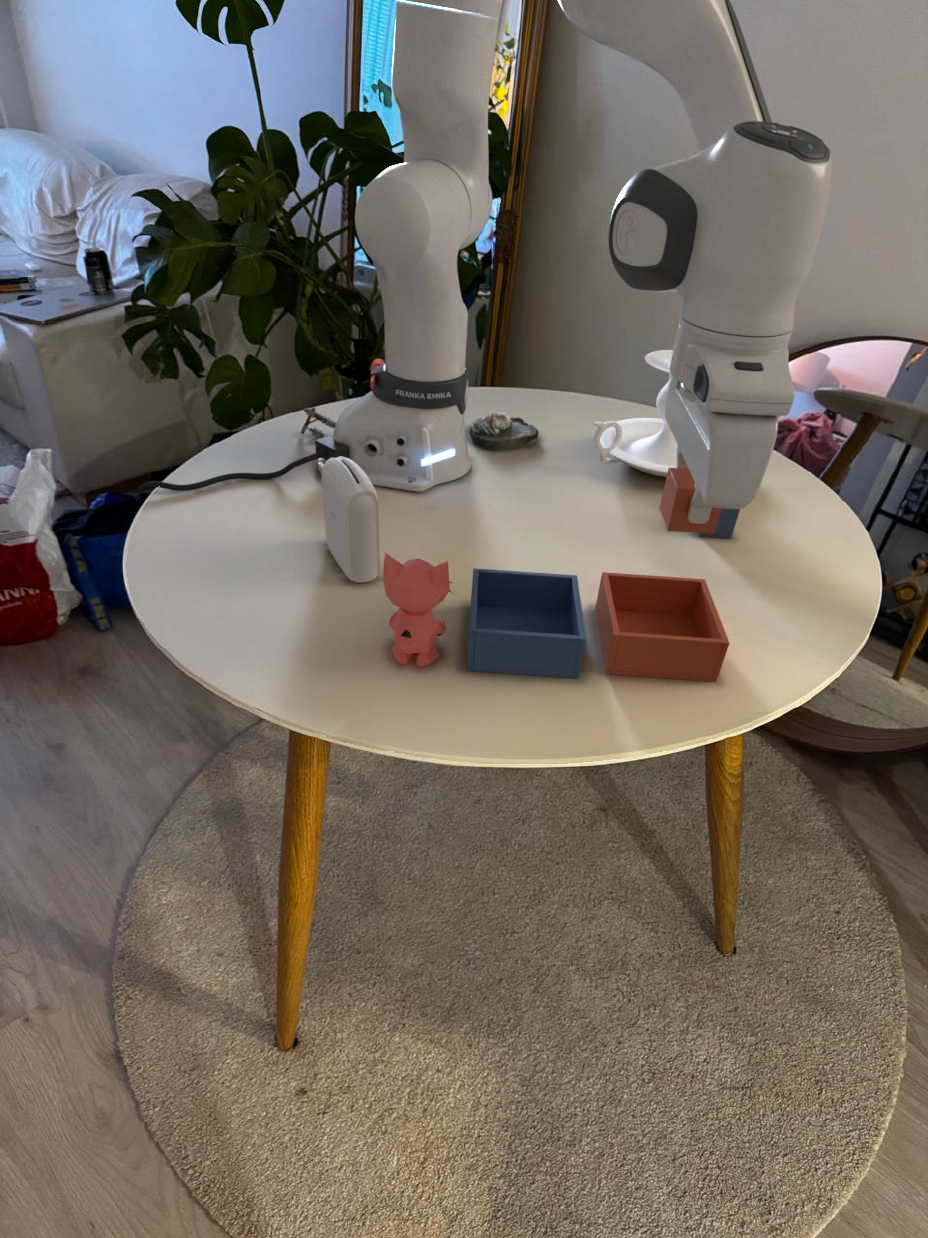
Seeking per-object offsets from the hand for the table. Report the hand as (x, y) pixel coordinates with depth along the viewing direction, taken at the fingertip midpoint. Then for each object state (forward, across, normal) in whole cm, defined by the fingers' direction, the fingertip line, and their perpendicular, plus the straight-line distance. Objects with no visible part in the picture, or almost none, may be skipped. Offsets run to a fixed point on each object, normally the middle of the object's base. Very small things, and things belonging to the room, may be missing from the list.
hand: (689, 505), depth 71 cm
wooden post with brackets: (+16, -47, -44) cm, 66 cm away
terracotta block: (+2, 0, 0) cm, 2 cm away
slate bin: (+16, +1, -14) cm, 22 cm away
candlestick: (+16, -44, +7) cm, 48 cm away
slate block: (+16, -25, +12) cm, 32 cm away
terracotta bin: (+16, 0, 0) cm, 16 cm away
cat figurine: (+16, +5, -25) cm, 31 cm away
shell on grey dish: (+16, -52, -16) cm, 56 cm away
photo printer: (+16, -12, -34) cm, 40 cm away
